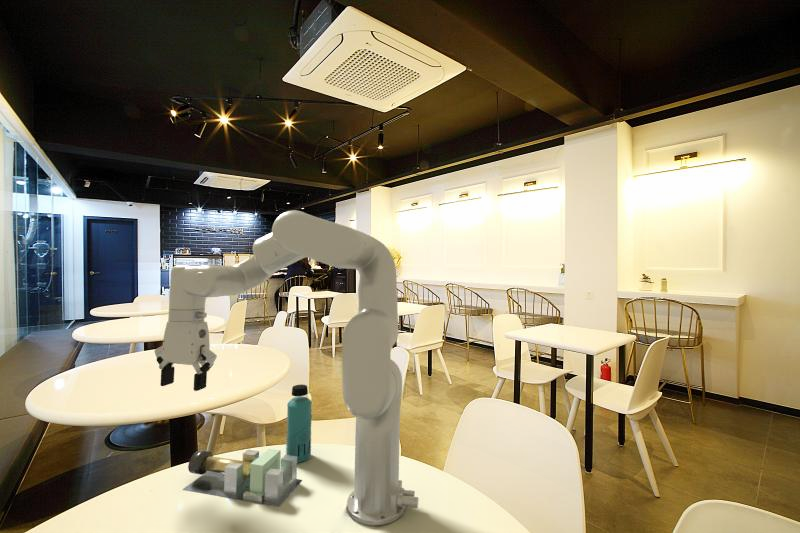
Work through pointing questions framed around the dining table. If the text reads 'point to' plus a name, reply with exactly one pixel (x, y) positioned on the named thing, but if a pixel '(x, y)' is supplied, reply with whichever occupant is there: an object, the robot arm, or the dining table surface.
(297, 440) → the beverage bottle
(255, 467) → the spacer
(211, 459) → the shaft
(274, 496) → the rig
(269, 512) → the dining table surface
